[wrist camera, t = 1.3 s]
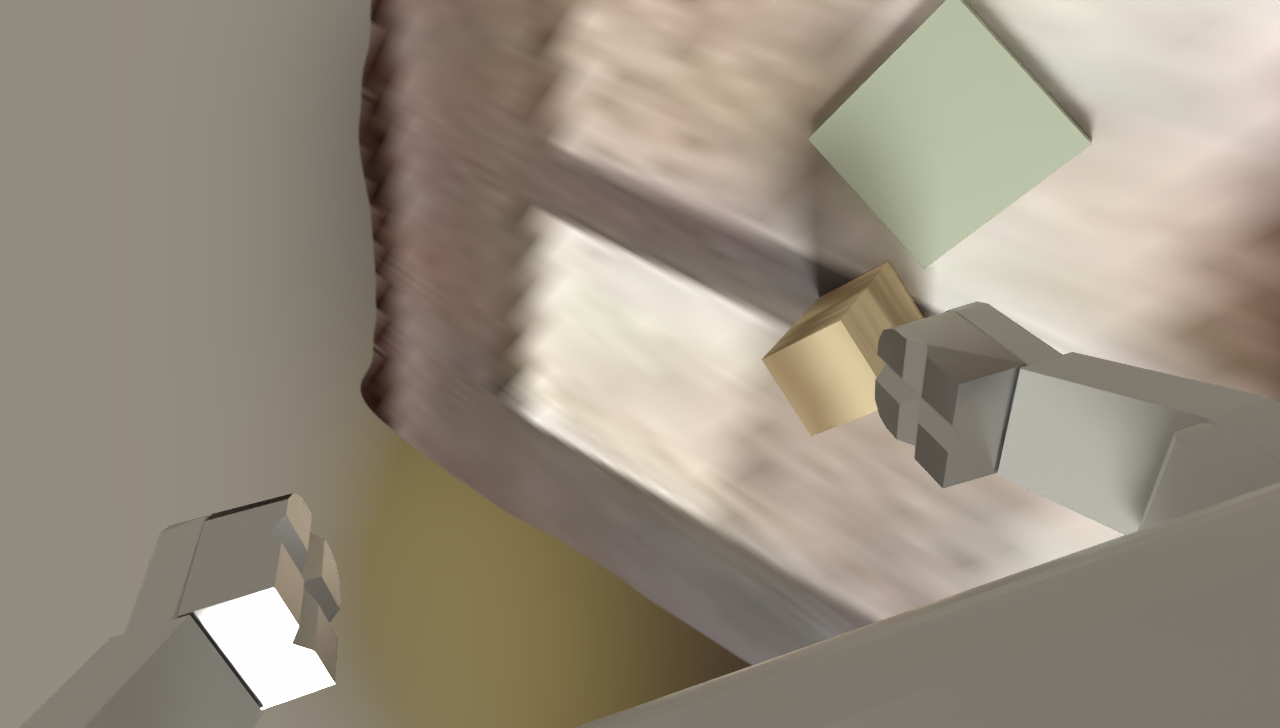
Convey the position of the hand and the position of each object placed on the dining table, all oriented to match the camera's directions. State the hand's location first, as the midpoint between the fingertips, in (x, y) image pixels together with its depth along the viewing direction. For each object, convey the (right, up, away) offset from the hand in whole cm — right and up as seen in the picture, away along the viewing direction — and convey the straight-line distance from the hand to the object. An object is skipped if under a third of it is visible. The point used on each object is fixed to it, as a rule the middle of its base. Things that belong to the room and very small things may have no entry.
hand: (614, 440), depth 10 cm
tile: (+17, +13, +30) cm, 37 cm away
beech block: (+15, +4, +36) cm, 39 cm away
